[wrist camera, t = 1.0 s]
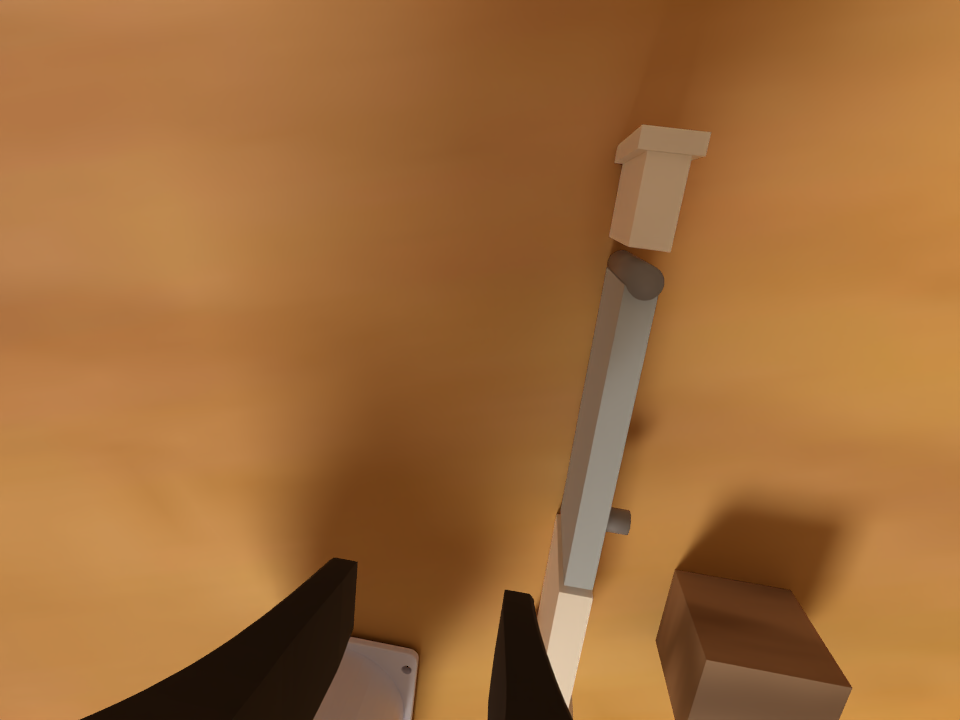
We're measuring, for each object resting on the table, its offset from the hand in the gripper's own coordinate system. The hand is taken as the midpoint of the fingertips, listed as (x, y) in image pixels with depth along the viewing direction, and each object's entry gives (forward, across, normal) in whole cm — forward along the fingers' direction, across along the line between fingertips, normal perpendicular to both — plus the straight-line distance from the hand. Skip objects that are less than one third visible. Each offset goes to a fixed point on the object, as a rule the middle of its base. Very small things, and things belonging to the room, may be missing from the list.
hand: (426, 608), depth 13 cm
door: (+10, -5, -3) cm, 12 cm away
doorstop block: (+10, -12, +7) cm, 17 cm away
